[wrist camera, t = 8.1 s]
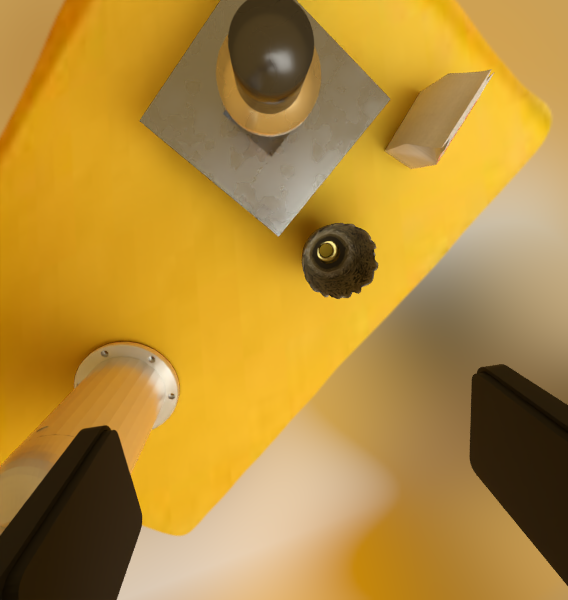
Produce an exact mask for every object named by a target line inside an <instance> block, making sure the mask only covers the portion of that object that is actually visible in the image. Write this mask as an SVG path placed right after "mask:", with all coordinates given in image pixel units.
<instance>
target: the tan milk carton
mask: <svg viewBox="0 0 568 600" xmlns="http://www.w3.org/2000/svg"><path fill="white" fill-rule="evenodd" d="M490 71H491V70H487V71H481V72H472V73H450V74H447V75H446V76H444V77H443V78H441V79H439V80H438V81H436V82H435V83H433V84H432V85H430V86H429V87H427V88H426V89H424V90H423V91H421V92H420V93H419V95H418V96H417V98H416V100H415V101H414V103H413V105H412V106H411V108H410V110H409V111H408V113H407V115H406V116H405V118H404V120H403V121H402V123H401V125H400V127H399V128H398V130H397V132H396V133H395V135H394V137H393V138H392V140H391V142H390V143H389V145H388V147H387V148H386V150H385V152H387V153H388V154H390V155H391V156H393V157H394V158H396V159H397V160H399V161H400V162H402V163H403V164H405V165H406V166H408V167H409V168H411V169H414V168H420V167H425V166H431V165H436V164H437V163H438V161H439V160H440V158H441V157H442V155H443V153H444V152H445V150H446V149H447V147H448V146H449V144H450V142H451V141H452V139H453V138H454V136H455V135H456V133H457V131H458V130H459V128H460V127H461V125H462V124H463V122H464V120H465V119H466V117H467V116H468V114H469V113H470V111H471V109H472V108H473V106H474V105H475V103H476V102H477V100H478V98H479V97H480V95H481V93H482V91H483V89H484V88H485V86H486V85H487V83H488V82H489V80H490V78H491V77H492V75H493V74H494V73H493V74H492V75H491V76H489V74H490ZM488 76H489V77H488Z"/></svg>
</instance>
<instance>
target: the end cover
mask: <svg viewBox="0 0 568 600" xmlns="http://www.w3.org/2000/svg"><path fill="white" fill-rule="evenodd" d="M216 81H217V86H218V90H219V94H220V97H221V99H222V102H223V104H224V106H225V108H226V110H227V112H228V113H229V115H230V116H231V117H232V119H233V120H234V121H235V122H236V123H237V124H238V125H240V126H241V127H242V128H243V129H245V130H247V131H249V132H251V133H253V134H256V135H259V136H265V137H275V136H280V135H284V134H286V133H289V132H291V131H292V130H294V129H295V128H297V127H298V126H299V125H300V124H302V123H303V121H304V120H305V119H306V118H307V117H308V115H309V114H310V112H311V110H312V109H313V107H314V105H315V103H316V100H317V98H318V95H319V91H320V86H321V66H320V60H319V56H318V53H317V51H316V48H315V46H314V35H313V30H312V27H311V24H310V21H309V19H308V17H307V15H306V14H305V12H304V11H303V9H302V8H301V7H300V6H299V5H298V4H297V3H296V2H295V1H293V0H247V1H245V2H244V3H243V4H242V5H241V6H240V7H239V9H238V10H237V11H236V13H235V15H234V17H233V19H232V21H231V24H230V28H229V33H228V35H227V36H226V38H225V40H224V41H223V43H222V46H221V48H220V50H219V54H218V57H217V63H216Z"/></svg>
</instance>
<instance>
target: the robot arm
mask: <svg viewBox="0 0 568 600" xmlns="http://www.w3.org/2000/svg"><path fill="white" fill-rule="evenodd" d="M152 356H153V357H154V358H153V357H152ZM179 389H180V387H179V381H178V377H177V375H176V372H175V370H174V369H173V367H172V365H171V364H170V363H169V362H168V360H167V359H166V358H165V357H164V356H162V355H161V354H160V353H158V352H157V351H156V350H154V349H152V348H150V347H148V346H145V345H142V344H138V343H133V342H115V343H110V344H106V345H104V346H102V347H99V348H98V349H96V350H95V351H93V352H92V353H90V354H89V355H88V356H87V357H86V358H85V359H84V360H83V362H82V363H81V364H80V366H79V367H78V370H77V372H76V374H75V380H74V390H73V391H72V392H71V393H70V394H69V395H68V396H67V397H66V398H65V399H64V400H63V401H62V402H61V403H60V404H59V406H58V407H57V408H56V409H55V410H54V411H53V412H52V413H51V414H50V415H49V416H48V417H47V418H46V419H45V420H44V421H43V422H42V423H41V424H40V425H39V426H38V427H37V428H36V429H35V430H34V431H33V433H32V434H31V435H30V436H29V437H28V438H27V439H26V440H25V441H24V442H23V443H22V444H21V445H20V446H19V447H18V448H17V449H16V450H15V451H14V452H13V453H12V454H11V455H10V456H9V457H8V458H7V459H6V460H5V461H4V463H3V464H2V465H1V466H0V600H117V597H118V594H119V591H120V588H121V585H122V582H123V579H124V576H125V574H126V571H127V568H128V565H129V562H130V559H131V556H132V553H133V551H134V548H135V545H136V542H137V539H138V536H139V533H140V530H141V526H142V513H141V509H140V505H139V502H138V499H137V495H136V492H135V489H134V485H133V482H132V478H131V472H132V470H133V468H134V466H135V464H136V462H137V460H138V457H139V455H140V453H141V451H142V449H143V447H144V445H145V442H146V440H147V438H148V436H149V434H150V432H151V430H152V429H154V428H157V427H158V426H160V425H161V424H163V423H164V422H165V421H166V420H167V419H168V418H169V417H170V416H171V414H172V413H173V411H174V409H175V407H176V404H177V402H178V398H179ZM470 463H471V466H472V468H473V470H474V472H475V473H476V475H477V476H478V477H479V478H480V479H481V481H482V482H483V483H484V484H485V485H486V487H487V488H488V489H489V490H490V492H491V493H492V494H493V495H494V497H495V498H496V499H497V500H498V501H499V503H500V504H501V505H502V506H503V508H504V509H505V510H506V511H507V512H508V514H509V515H510V516H511V517H512V518H513V520H514V521H515V522H516V523H517V525H518V526H519V527H520V528H521V529H522V531H523V532H524V533H525V534H526V536H527V537H528V538H529V539H530V540H531V542H532V543H533V544H534V545H535V547H536V548H537V549H538V550H539V551H540V553H541V554H542V555H543V556H544V557H545V559H546V560H547V561H548V562H549V564H550V565H551V566H552V567H553V569H554V570H555V571H556V572H557V573H558V575H559V576H560V577H561V578H562V579H563V581H564V582H565V583H566V584H567V586H568V405H567V404H565V403H563V402H562V401H560V400H559V399H557V398H556V397H554V396H553V395H551V394H550V393H548V392H546V391H545V390H543V389H542V388H540V387H539V386H537V385H536V384H534V383H532V382H531V381H529V380H528V379H526V378H524V377H523V376H521V375H520V374H519V373H517V372H515V371H514V370H512V369H511V368H509V367H508V366H506V365H503V364H499V365H493V366H486V367H481V368H479V369H478V371H477V374H474V375H473V377H472V395H471V429H470Z"/></svg>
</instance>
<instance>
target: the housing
mask: <svg viewBox="0 0 568 600" xmlns="http://www.w3.org/2000/svg"><path fill="white" fill-rule="evenodd" d="M245 1H247V0H220V2H219V3H218V5H217V6H216V8H215V9H214V11H213V12H212V14H211V15H210V17H209V18H208V20H207V21H206V23H205V24H204V26H203V27H202V29H201V30H200V32H199V33H198V35H197V36H196V38H195V39H194V41H193V42H192V44H191V45H190V47H189V48H188V50H187V51H186V53H185V54H184V55H183V57H182V58H181V60H180V61H179V63H178V64H177V66H176V67H175V69H174V70H173V72H172V73H171V75H170V76H169V78H168V79H167V81H166V82H165V84H164V85H163V87H162V88H161V90H160V91H159V93H158V94H157V96H156V97H155V99H154V100H153V102H152V103H151V105H150V106H149V107H148V109H147V110H146V112H145V113H144V115H143V116H142V118H141V119H140V122H141V123H143V124H144V125H145V126H146V127H147V128H149V129H150V130H151V131H152V132H153V133H155V134H156V135H157V136H158V137H159V138H161V139H162V140H163V141H164V142H165V143H167V144H168V145H169V146H170V147H172V148H173V149H174V150H175V151H176V152H178V153H179V154H180V155H181V156H182V157H184V158H185V159H186V160H187V161H188V162H190V163H191V164H192V165H193V166H194V167H196V168H197V169H198V170H199V171H200V172H202V173H203V174H204V175H205V176H206V177H208V178H209V179H210V180H211V181H212V182H214V183H215V184H216V185H217V186H218V187H220V188H221V189H222V190H223V191H224V192H226V193H227V194H228V195H229V196H230V197H232V198H233V199H234V200H235V201H236V202H238V203H239V204H240V205H241V206H242V207H244V208H245V209H246V210H247V211H248V212H250V213H251V214H252V215H253V216H254V217H256V218H257V219H258V220H259V221H260V222H262V223H263V224H264V225H265V226H266V227H268V228H269V229H270V230H271V231H272V232H274V233H275V234H276V235H277V236H278V237H279V236H280V234H281V233H282V232H283V231H284V229H285V228H286V227H287V226H288V225H289V223H290V222H291V221H292V220H293V218H294V217H295V216H296V215H297V213H298V212H299V211H300V210H301V209H302V207H303V206H304V205H305V204H306V202H307V201H308V200H309V199H310V198H311V196H312V195H313V194H314V193H315V191H316V190H317V189H318V188H319V186H320V185H321V184H322V183H323V182H324V180H325V179H326V178H327V177H328V175H329V174H330V173H331V172H332V171H333V169H334V168H335V167H336V166H337V164H338V163H339V162H340V161H341V159H342V158H343V157H344V156H345V155H346V153H347V152H348V151H349V150H350V148H351V147H352V146H353V145H354V143H355V142H356V141H357V140H358V139H359V137H360V136H361V135H362V134H363V132H364V131H365V130H366V129H367V128H368V126H369V125H370V124H371V123H372V121H373V120H374V119H375V118H376V116H377V115H378V114H379V113H380V112H381V110H382V109H383V108H384V107H385V105H386V104H387V103H388V102H389V101H390V98H389V97H388V96H387V95H386V94H385V93H384V92H383V91H382V90H381V89H380V88H379V86H378V85H377V84H376V83H375V82H374V81H373V80H372V79H371V78H370V77H369V76H368V75H367V74H366V73H365V72H364V71H363V70H362V69H361V68H360V67H359V66H358V64H357V63H356V62H355V61H354V60H353V59H352V58H351V57H350V56H349V55H348V54H347V53H346V52H345V51H344V50H343V49H342V48H341V47H340V46H339V45H338V44H337V42H336V41H335V40H334V39H333V38H332V37H331V36H330V35H329V34H328V33H327V32H326V31H325V30H324V29H323V28H322V27H321V26H320V25H319V24H318V23H317V22H316V20H315V19H314V18H313V17H312V16H311V15H310V14H309V13H308V12H307V11H306V10H305V9H304V8H303V7H302V6H301V5H300V4H299V3H298V2H297V1H296V0H293V1H295V2H296V3H297V4H298V5H299V6H300V7H301V8H302V9H303V11H304V12H305V14H306V15H307V17H308V19H309V21H310V24H311V27H312V30H313V35H314V46H315V48H316V51H317V53H318V56H319V60H320V66H321V86H320V91H319V95H318V98H317V100H316V103H315V105H314V107H313V109H312V110H311V112H310V114H309V115H308V117H307V118H306V119H305V120H304V121H303V123H302V124H300V125H299V126H298V127H297V128H295V129H294V130H292V131H291V132H289V133H286V134H284V135H280V136H275V137H265V136H259V135H256V134H253V133H251V132H249V131H247V130H245V129H243V128H242V127H241V126H240V125H238V124H237V123H236V122H235V121H234V120H233V119H232V117H231V116H230V115H229V113H228V112H227V110H226V108H225V106H224V104H223V102H222V99H221V97H220V94H219V90H218V86H217V81H216V63H217V57H218V54H219V50H220V48H221V46H222V43H223V41H224V40H225V38H226V36H227V35H228V33H229V28H230V24H231V21H232V19H233V17H234V15H235V13H236V11H237V10H238V9H239V7H240V6H241V5H242V4H243V3H244V2H245Z"/></svg>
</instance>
